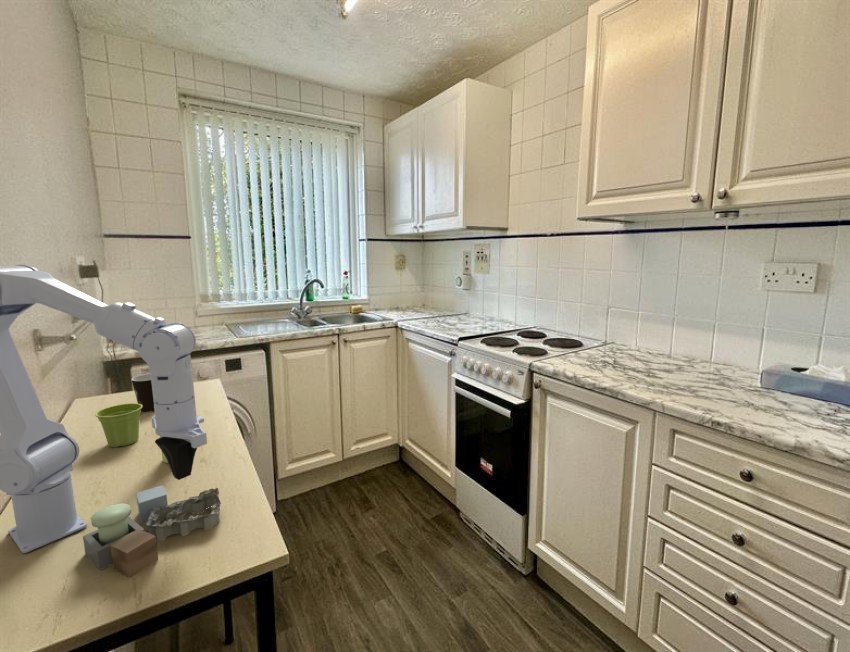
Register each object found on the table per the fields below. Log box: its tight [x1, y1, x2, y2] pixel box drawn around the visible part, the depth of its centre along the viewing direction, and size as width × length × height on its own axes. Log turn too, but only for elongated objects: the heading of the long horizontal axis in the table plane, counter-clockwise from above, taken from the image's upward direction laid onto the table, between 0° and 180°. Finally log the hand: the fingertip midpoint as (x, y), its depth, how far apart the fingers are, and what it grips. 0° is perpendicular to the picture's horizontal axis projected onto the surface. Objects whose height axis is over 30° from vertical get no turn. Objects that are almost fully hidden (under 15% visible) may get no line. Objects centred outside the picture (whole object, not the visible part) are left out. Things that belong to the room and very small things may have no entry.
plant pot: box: [94, 402, 143, 448], centre depth 101 cm, size 9×9×9 cm
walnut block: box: [110, 529, 159, 579], centre depth 60 cm, size 4×4×4 cm
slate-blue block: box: [135, 484, 169, 525], centre depth 72 cm, size 4×4×4 cm
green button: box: [90, 503, 132, 546], centre depth 63 cm, size 5×5×4 cm
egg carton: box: [145, 487, 222, 543], centre depth 70 cm, size 11×8×4 cm
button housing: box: [82, 515, 145, 571], centre depth 63 cm, size 6×6×3 cm
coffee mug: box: [131, 373, 155, 413], centre depth 124 cm, size 12×9×10 cm
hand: (182, 476), depth 68 cm, fingers closed
